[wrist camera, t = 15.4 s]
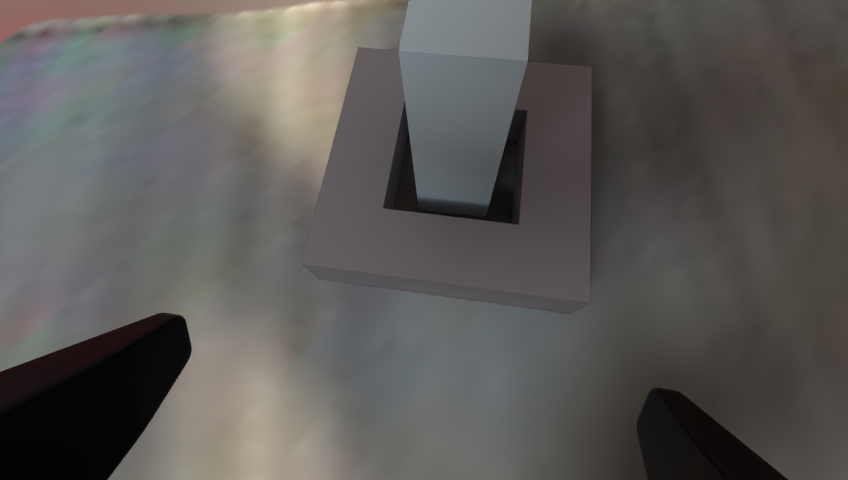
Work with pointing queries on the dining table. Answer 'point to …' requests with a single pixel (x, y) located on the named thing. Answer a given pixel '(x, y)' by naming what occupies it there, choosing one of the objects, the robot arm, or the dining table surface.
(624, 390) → the dining table surface
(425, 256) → the square socket base
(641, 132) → the dining table surface
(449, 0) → the slate block
